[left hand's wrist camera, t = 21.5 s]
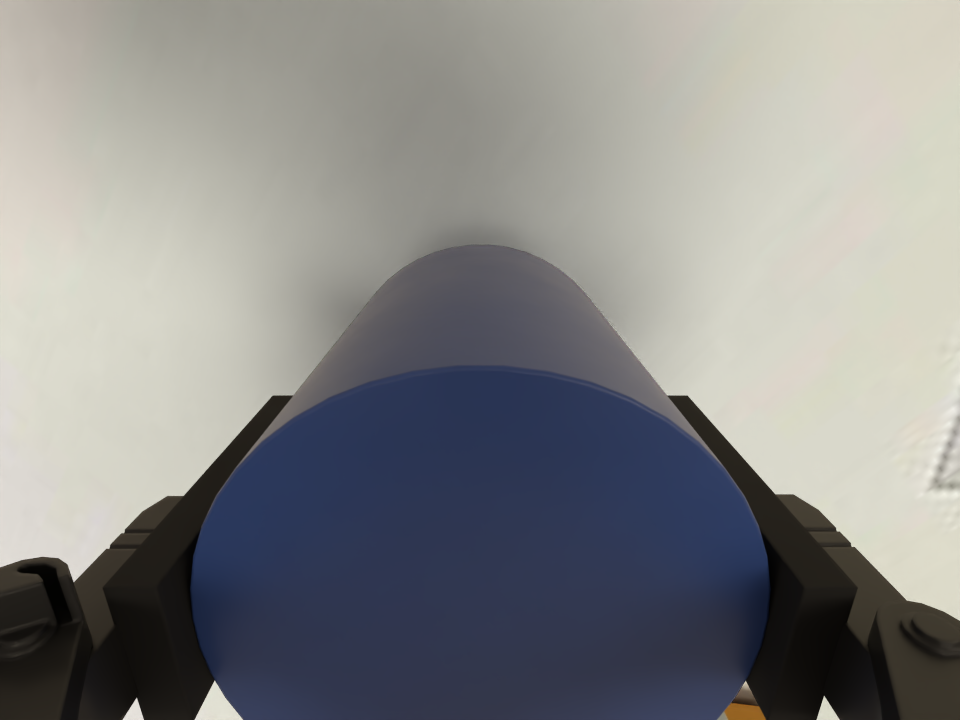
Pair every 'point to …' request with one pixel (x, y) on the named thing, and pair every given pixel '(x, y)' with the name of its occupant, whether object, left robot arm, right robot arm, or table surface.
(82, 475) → the table surface
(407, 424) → the can
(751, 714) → the spray gun
